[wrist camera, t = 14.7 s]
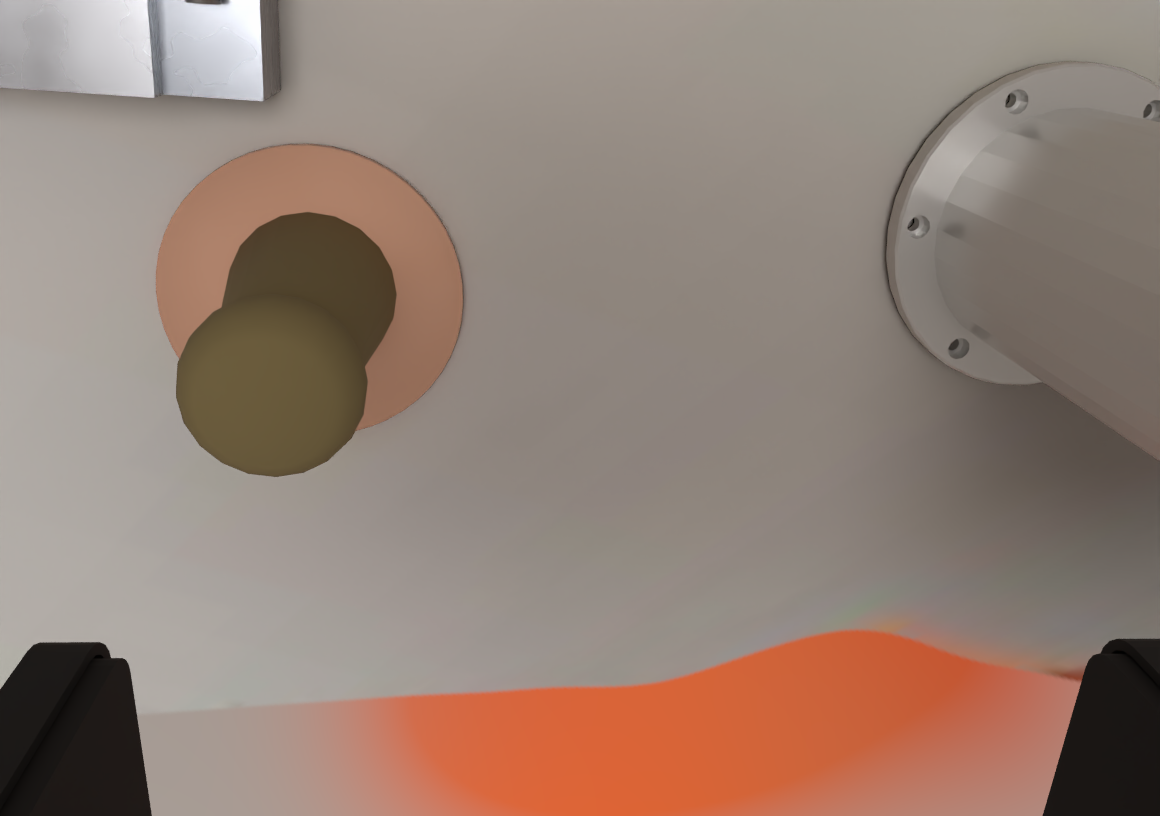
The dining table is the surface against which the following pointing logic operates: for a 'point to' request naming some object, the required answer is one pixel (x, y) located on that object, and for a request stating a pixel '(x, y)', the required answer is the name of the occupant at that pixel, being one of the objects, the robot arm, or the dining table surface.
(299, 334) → the cork
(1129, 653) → the robot arm
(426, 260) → the coaster
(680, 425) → the dining table surface
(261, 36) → the grey metal u-shaped block
